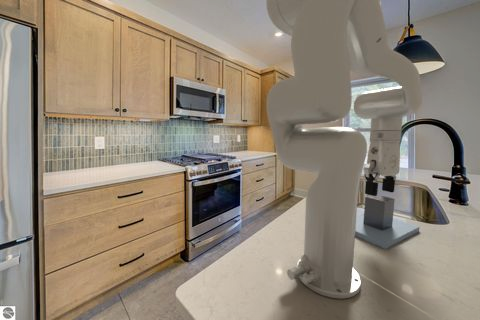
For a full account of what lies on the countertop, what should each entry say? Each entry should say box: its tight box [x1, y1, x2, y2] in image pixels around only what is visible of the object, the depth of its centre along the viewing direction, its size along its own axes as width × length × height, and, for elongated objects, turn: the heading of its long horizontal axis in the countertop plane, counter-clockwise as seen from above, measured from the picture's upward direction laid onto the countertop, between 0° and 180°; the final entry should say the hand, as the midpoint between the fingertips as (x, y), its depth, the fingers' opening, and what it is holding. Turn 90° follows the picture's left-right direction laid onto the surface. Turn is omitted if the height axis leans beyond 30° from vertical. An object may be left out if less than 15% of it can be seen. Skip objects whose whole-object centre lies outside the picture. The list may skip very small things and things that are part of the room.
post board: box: [355, 214, 420, 250], centre depth 63 cm, size 20×14×6 cm
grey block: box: [363, 194, 395, 231], centre depth 63 cm, size 6×6×9 cm
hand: (379, 193), depth 61 cm, fingers open, 9 cm apart
